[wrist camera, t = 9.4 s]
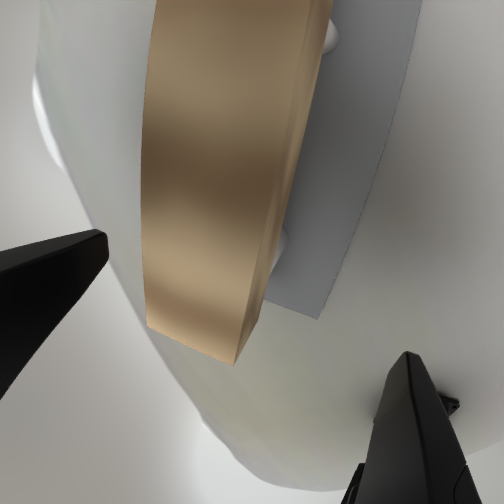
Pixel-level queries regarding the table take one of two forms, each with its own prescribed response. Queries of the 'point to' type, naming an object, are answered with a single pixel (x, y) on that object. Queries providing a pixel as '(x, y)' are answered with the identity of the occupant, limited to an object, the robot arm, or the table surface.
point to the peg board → (341, 146)
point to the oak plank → (221, 158)
